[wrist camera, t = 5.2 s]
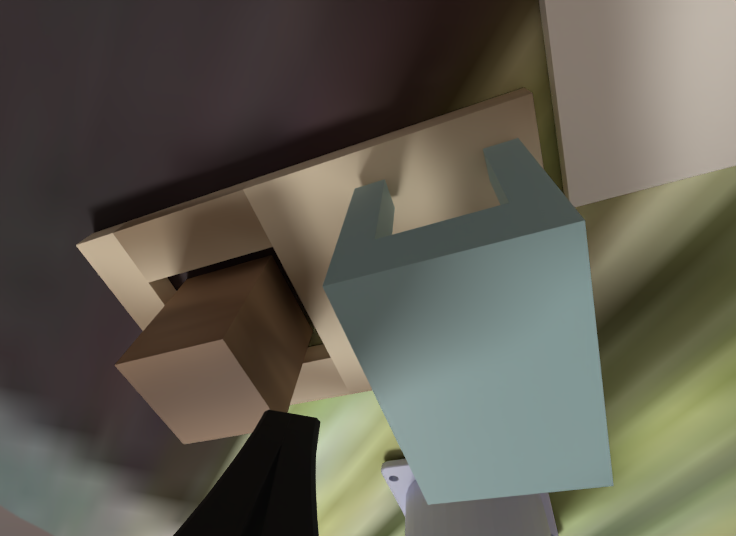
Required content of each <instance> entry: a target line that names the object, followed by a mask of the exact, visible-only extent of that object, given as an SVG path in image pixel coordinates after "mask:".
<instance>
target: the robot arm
mask: <svg viewBox="0 0 736 536" xmlns="http://www.w3.org/2000/svg"><path fill="white" fill-rule="evenodd" d="M319 428H320V421H319V420H318V419H317V418H314V417H308V416H303V415H297V414H291V413H286V412H280V411H275V410H267V411H265V412H264V413H263V415H262V417H261V419H260V421H259V422H258V424H257V426H256V427H255V429H254V430H253V432H252V434H251V435H250V437H249V438H248V440H247V441H246V443H245V444H244V446H243V447H242V449H241V450H240V451H239V453H238V454H237V456H236V457H235V459H234V460H233V461H232V463H231V464H230V465H229V467H228V468H227V469H226V471H225V472H224V473H223V475H222V476H221V477H220V479H219V480H218V481H217V483H216V484H215V485H214V487H213V488H212V489H211V491H210V492H209V493H208V495H207V496H206V497H205V498H204V499H203V501H202V502H201V503H200V504H199V505H198V507H197V508H196V509H195V510H194V512H193V513H192V514H191V515H190V516H189V518H188V519H187V520H186V521H185V522H184V524H183V525H182V526H181V527H180V528H179V530H178V531H177V532H176V533H175V534H174V535H173V536H319V534H318V521H317V504H316V475H315V474H316V450H317V443H318V435H319ZM381 472H382V475H383V477H384V478H385V480H386V482H387V484H388V486H389V488H390V489H391V491H392V493H393V495H394V497H395V499H396V500H397V502H398V504H399V506H400V508H401V510H402V512H403V513H404V515H405V536H558V531H557V527H556V523H555V519H554V514H553V510H552V506H551V502H550V497H549V493H538V494H528V495H519V496H509V497H499V498H489V499H479V500H469V501H460V502H450V503H440V504H430V505H428V504H427V502H426V500H425V498H424V496H423V493H422V491H421V489H420V487H419V485H418V483H417V481H416V479H415V477H414V475H413V473H412V471H411V469H410V467H409V465H408V462H407V460H406V459H399V460H391V461H386V462H384V463H383V464H382V468H381Z"/></svg>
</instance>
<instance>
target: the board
mask: <svg viewBox="0 0 736 536" xmlns="http://www.w3.org/2000/svg"><path fill="white" fill-rule="evenodd" d="M516 138H519V140H520V141H521V142H522V143H523V144H524V146H525V147H526V148H527V149H528V151H529V152H530V153H531V154H532V156H533V157H534V158H535V159H536V161H537V162H538V163H539V164H540V165H541V167H542V168H543V169H544V167H543V161H542V154H541V147H540V141H539V134H538V127H537V121H536V114H535V107H534V101H533V94H532V93H531V92H530V91H529V90H527V89H526V88H521V89H518V90H515V91H512V92H509V93H506V94H503V95H500V96H498V97H495V98H492V99H489V100H486V101H483V102H480V103H477V104H474V105H471V106H468V107H465V108H462V109H459V110H456V111H453V112H450V113H447V114H444V115H441V116H438V117H435V118H432V119H429V120H427V121H424V122H421V123H418V124H415V125H412V126H409V127H406V128H403V129H400V130H397V131H394V132H391V133H388V134H385V135H382V136H379V137H376V138H373V139H370V140H367V141H364V142H361V143H358V144H356V145H353V146H350V147H347V148H344V149H341V150H338V151H335V152H332V153H329V154H326V155H323V156H320V157H317V158H314V159H311V160H308V161H305V162H302V163H299V164H296V165H293V166H290V167H287V168H285V169H282V170H279V171H276V172H273V173H270V174H267V175H264V176H261V177H258V178H255V179H252V180H249V181H246V182H243V183H240V184H237V185H234V186H231V187H228V188H225V189H222V190H219V191H216V192H214V193H211V194H208V195H205V196H202V197H199V198H196V199H193V200H190V201H187V202H184V203H181V204H178V205H175V206H172V207H169V208H166V209H163V210H160V211H157V212H154V213H151V214H148V215H145V216H143V217H140V218H137V219H134V220H131V221H128V222H125V223H122V224H119V225H116V226H113V227H110V228H107V229H104V230H101V231H98V232H95V233H93V234H91V235H90V236H88V237H87V238H86V239H84V240H83V241H81V242H80V243H78V244H77V245H76V246H77V247H78V249H79V250H80V251H81V252H82V254H83V255H84V256H85V258H86V259H87V260H88V261H89V263H90V264H91V265H92V267H93V268H94V269H95V270H96V272H97V273H98V274H99V275H100V277H101V278H102V279H103V281H104V282H105V283H106V284H107V286H108V287H109V288H110V290H111V291H112V292H113V293H114V295H115V296H116V297H117V298H118V300H119V301H120V302H121V304H122V305H123V306H124V307H125V309H126V310H127V311H128V312H129V314H130V315H131V316H132V318H133V319H134V320H135V321H136V323H137V324H138V325H139V327H140V328H141V329H142V330H143V331H144V330H145V328H146V327H147V326H148V325H149V324H150V322H151V321H152V320H153V319H154V318H155V316H156V315H157V314H158V313H159V312H160V311H161V309H162V308H163V307H164V306H165V305H166V303H167V302H168V301H169V300H170V299H171V298H172V296H173V295H174V294H175V293H176V292H177V291H176V289H175V288H174V287H173V285H172V284H171V282H170V281H169V279H168V278H167V277H170V276H173V275H177V274H180V273H184V272H187V271H190V270H194V269H197V268H201V267H204V266H208V265H211V264H215V263H218V262H222V261H225V260H229V259H232V258H236V257H239V256H243V255H246V254H250V253H253V252H257V251H260V250H264V249H267V248H270V247H273V248H274V250H275V252H276V254H277V256H278V258H279V259H280V261H281V263H282V265H283V267H284V269H285V271H286V273H287V275H288V277H289V279H290V280H291V282H292V284H293V286H294V288H295V290H296V292H297V294H298V296H299V298H300V300H301V301H302V303H303V305H304V307H305V309H306V311H307V313H308V315H309V317H310V319H311V320H312V322H313V324H314V326H315V328H316V330H317V332H318V334H319V336H320V338H321V340H322V341H323V343H324V344H321V345H317V346H312V347H308V348H307V352H306V355H305V358H304V361H303V364H302V368H301V371H300V374H299V377H298V380H297V383H296V387H295V390H294V393H293V396H292V399H291V403H290V405H292V404H298V403H304V402H309V401H315V400H320V399H326V398H332V397H337V396H343V395H349V394H354V393H360V392H365V391H371V390H372V388H371V386H370V384H369V382H368V380H367V378H366V376H365V374H364V372H363V369H362V367H361V365H360V363H359V361H358V359H357V357H356V355H355V353H354V351H353V349H352V347H351V345H350V343H349V341H348V338H347V336H346V334H345V332H344V330H343V328H342V326H341V324H340V322H339V320H338V318H337V316H336V314H335V312H334V310H333V307H332V305H331V303H330V301H329V299H328V297H327V295H326V293H325V291H324V289H323V287H322V286H323V283H324V280H325V277H326V274H327V271H328V268H329V265H330V262H331V259H332V256H333V253H334V250H335V247H336V244H337V241H338V238H339V235H340V232H341V229H342V226H343V223H344V220H345V217H346V213H347V210H348V207H349V204H350V201H351V198H352V195H353V192H354V189H355V188H358V187H361V186H365V185H368V184H371V183H374V182H378V181H381V180H384V179H385V181H386V184H387V187H388V190H389V193H390V195H391V198H392V201H393V204H394V207H395V211H394V221H393V232H392V235H393V234H397V233H400V232H404V231H408V230H411V229H415V228H419V227H422V226H426V225H430V224H433V223H437V222H441V221H444V220H448V219H451V218H455V217H459V216H462V215H466V214H470V213H473V212H477V211H481V210H484V209H488V208H492V207H495V206H499V205H500V203H499V200H498V198H497V196H496V194H495V191H494V189H493V187H492V185H491V182H490V180H489V175H488V170H487V166H486V161H485V157H484V152H483V149H484V148H487V147H490V146H494V145H497V144H500V143H503V142H507V141H510V140H513V139H516Z"/></svg>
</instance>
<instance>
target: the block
mask: <svg viewBox="0 0 736 536" xmlns="http://www.w3.org/2000/svg"><path fill="white" fill-rule="evenodd" d="M312 333H313V331H312V329H311V327H310V325H309V323H308V321H307V319H306V318H305V316H304V314H303V312H302V310H301V308H300V306H299V305H298V303H297V301H296V299H295V297H294V295H293V293H292V292H291V290H290V288H289V286H288V284H287V282H286V280H285V279H284V277H283V275H282V273H281V271H280V269H279V267H278V265H277V264H276V262H275V260H274V258H273V256H272V255H269V256H266V257H262V258H259V259H255V260H252V261H248V262H245V263H242V264H238V265H235V266H231V267H228V268H224V269H221V270H217V271H214V272H210V273H207V274H203V275H200V276H196V277H193V278H189V279H187V280H186V281H185V282H184V283H183V285H182V286H181V287H180V288H179V289H178V290H177V292H176V293H175V294H174V295H173V296H172V298H171V299H170V300H169V301H168V302H167V303H166V305H165V306H164V307H163V308H162V309H161V311H160V312H159V313H158V314H157V315H156V316H155V318H154V319H153V320H152V321H151V322H150V324H149V325H148V326H147V327H146V328H145V330H144V331H143V332H142V333H141V334H140V335H139V337H138V338H137V339H136V340H135V341H134V343H133V344H132V345H131V346H130V347H129V348H128V350H127V351H126V352H125V353H124V354H123V356H122V357H121V358H120V359H119V360H118V362H117V363H116V364H115V366H116V367H117V368H118V370H119V371H120V372H121V373H122V374H123V375H124V376H125V378H126V379H127V380H128V381H129V382H130V383H131V384H132V386H133V387H134V388H135V389H136V390H137V391H138V392H139V394H140V395H141V396H142V397H143V398H144V399H145V400H146V402H147V403H148V404H149V405H150V406H151V407H152V409H153V410H154V411H155V412H156V413H157V414H158V415H159V417H160V418H161V419H162V420H163V421H164V422H165V423H166V425H167V426H168V427H169V428H170V429H171V430H172V431H173V433H174V434H175V435H176V436H177V437H178V438H179V439H180V441H181V442H182V443H183V444H189V443H195V442H201V441H207V440H213V439H218V438H224V437H230V436H236V435H242V434H248V433H252V432H253V430H254V429H255V427H256V426H257V424H258V422H259V421H260V419H261V417H262V415H263V413H264V412H265V411H267V410H275V411H280V412H286V413H287V412H288V409H289V406H290V403H291V399H292V396H293V393H294V390H295V387H296V383H297V380H298V377H299V374H300V371H301V368H302V364H303V361H304V358H305V355H306V352H307V348H308V345H309V342H310V339H311V336H312Z"/></svg>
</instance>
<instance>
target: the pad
mask: <svg viewBox="0 0 736 536" xmlns="http://www.w3.org/2000/svg"><path fill="white" fill-rule="evenodd" d="M539 5H540V13H541V21H542V29H543V36H544V44H545V52H546V59H547V67H548V75H549V83H550V90H551V98H552V106H553V113H554V121H555V129H556V137H557V144H558V152H559V160H560V167H561V175H562V183H563V191H564V195H565V196H566V198H567V199H568V200H569V201H570V202H571V204H572V205H573V206H574V207H579V206H582V205H586V204H590V203H594V202H598V201H602V200H605V199H609V198H613V197H617V196H621V195H625V194H628V193H632V192H636V191H640V190H644V189H648V188H651V187H655V186H659V185H663V184H667V183H671V182H674V181H678V180H682V179H686V178H690V177H694V176H697V175H701V174H705V173H709V172H713V171H717V170H720V169H724V168H728V167H732V166H736V0H539Z"/></svg>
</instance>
